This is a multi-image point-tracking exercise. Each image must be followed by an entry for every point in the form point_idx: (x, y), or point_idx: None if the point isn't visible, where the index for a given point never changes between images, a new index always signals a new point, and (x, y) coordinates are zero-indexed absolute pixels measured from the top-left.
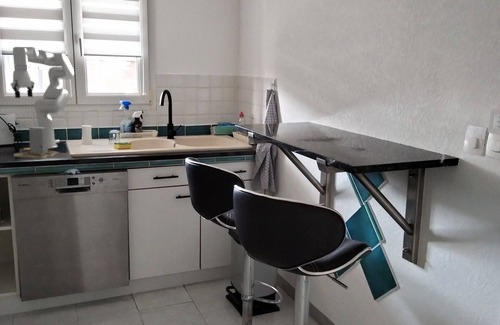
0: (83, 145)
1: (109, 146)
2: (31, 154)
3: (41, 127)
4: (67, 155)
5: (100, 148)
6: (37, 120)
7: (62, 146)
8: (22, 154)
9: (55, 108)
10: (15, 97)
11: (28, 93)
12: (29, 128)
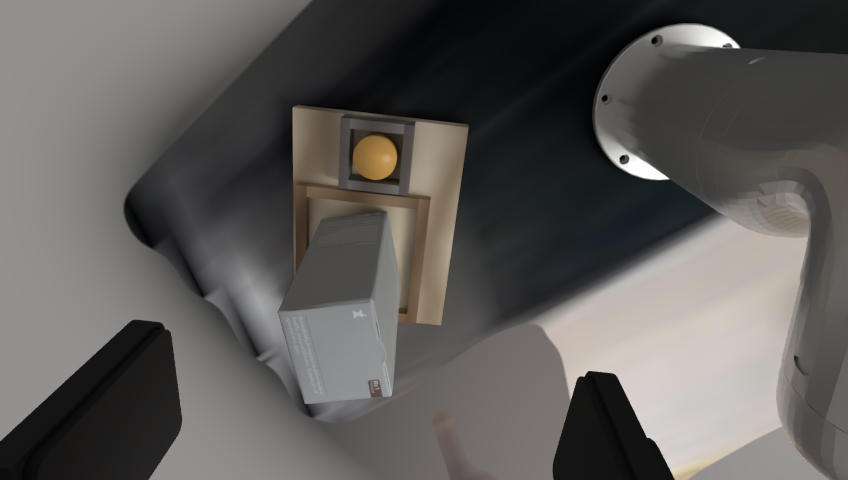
0: (764, 295)
1: (728, 438)
2: (296, 248)
3: (357, 370)
4: (426, 369)
5: (658, 423)
6: (758, 94)
7: None
8: (302, 174)
9: (790, 437)
10: (136, 322)
11: (597, 465)
12: (279, 310)
